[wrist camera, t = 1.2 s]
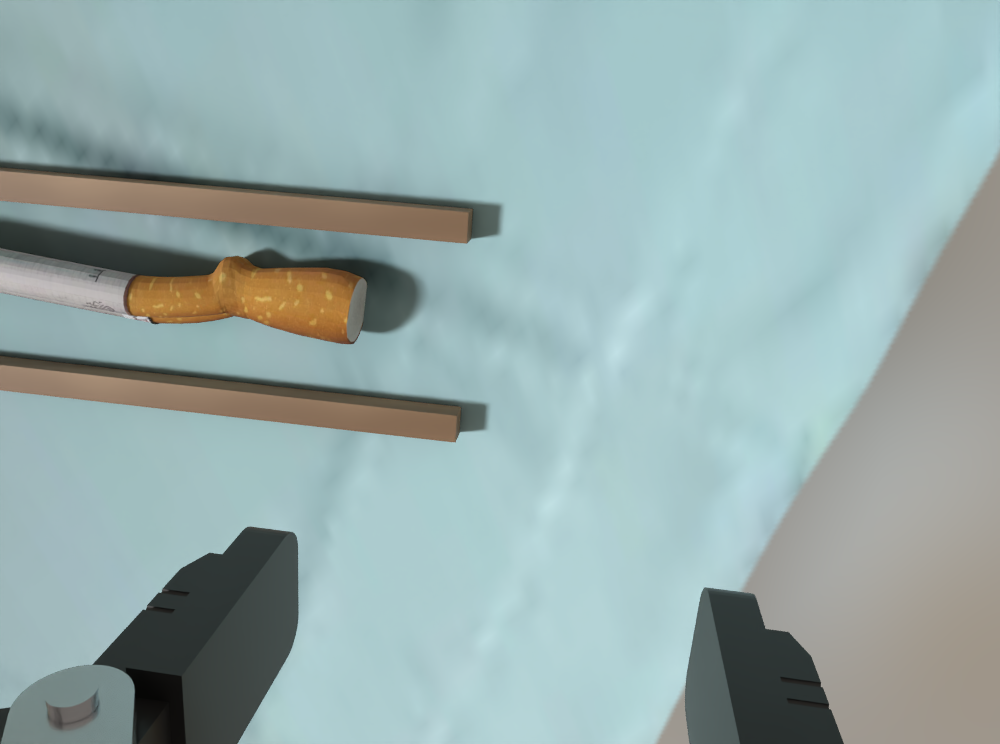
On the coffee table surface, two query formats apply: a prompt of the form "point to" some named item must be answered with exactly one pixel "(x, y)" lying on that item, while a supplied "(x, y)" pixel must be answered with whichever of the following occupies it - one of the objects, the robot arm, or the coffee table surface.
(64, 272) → the chisel
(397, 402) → the holder
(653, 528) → the coffee table surface
